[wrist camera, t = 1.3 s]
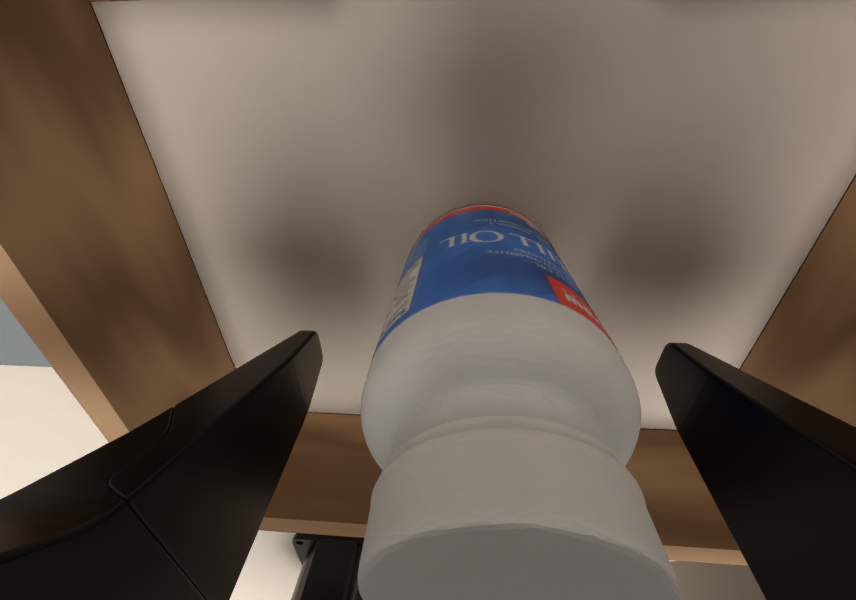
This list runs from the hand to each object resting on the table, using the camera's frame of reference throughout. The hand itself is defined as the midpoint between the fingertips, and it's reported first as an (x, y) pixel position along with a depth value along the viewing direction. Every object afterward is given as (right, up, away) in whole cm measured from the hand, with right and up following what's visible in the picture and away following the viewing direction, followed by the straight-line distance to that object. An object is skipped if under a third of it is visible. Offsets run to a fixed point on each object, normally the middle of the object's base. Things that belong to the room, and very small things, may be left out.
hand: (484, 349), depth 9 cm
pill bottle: (0, +2, +4) cm, 5 cm away
